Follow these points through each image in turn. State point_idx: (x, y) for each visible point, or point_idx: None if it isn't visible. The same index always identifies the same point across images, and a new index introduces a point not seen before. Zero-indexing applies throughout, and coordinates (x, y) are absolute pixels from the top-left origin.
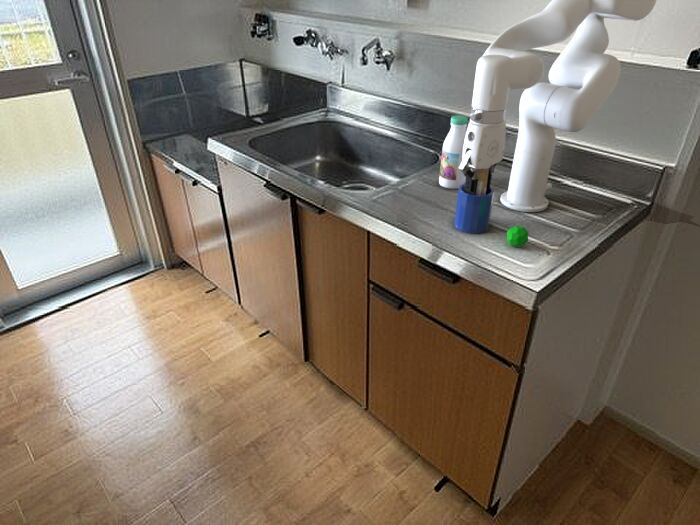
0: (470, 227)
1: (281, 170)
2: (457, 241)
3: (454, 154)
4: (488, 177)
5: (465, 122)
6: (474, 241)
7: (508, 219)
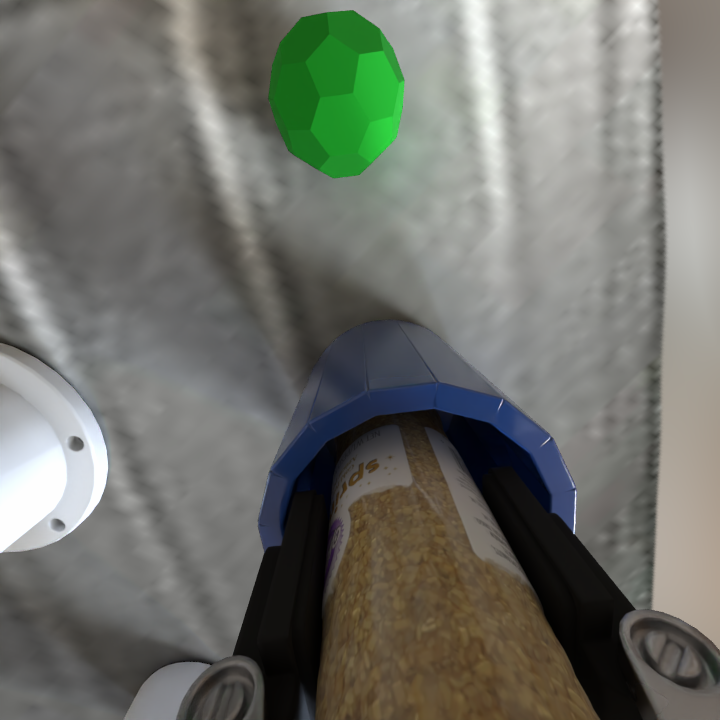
0: (456, 351)
1: None
2: (550, 314)
3: None
4: (308, 608)
5: None
6: (485, 273)
7: (181, 356)
